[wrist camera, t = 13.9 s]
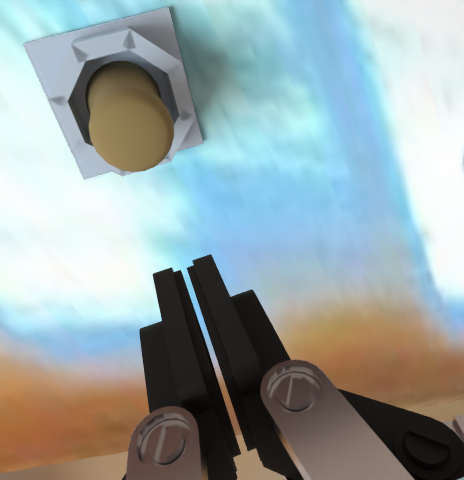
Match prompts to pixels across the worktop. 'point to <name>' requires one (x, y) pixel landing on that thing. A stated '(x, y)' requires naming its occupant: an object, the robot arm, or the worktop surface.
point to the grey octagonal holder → (105, 51)
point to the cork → (128, 117)
